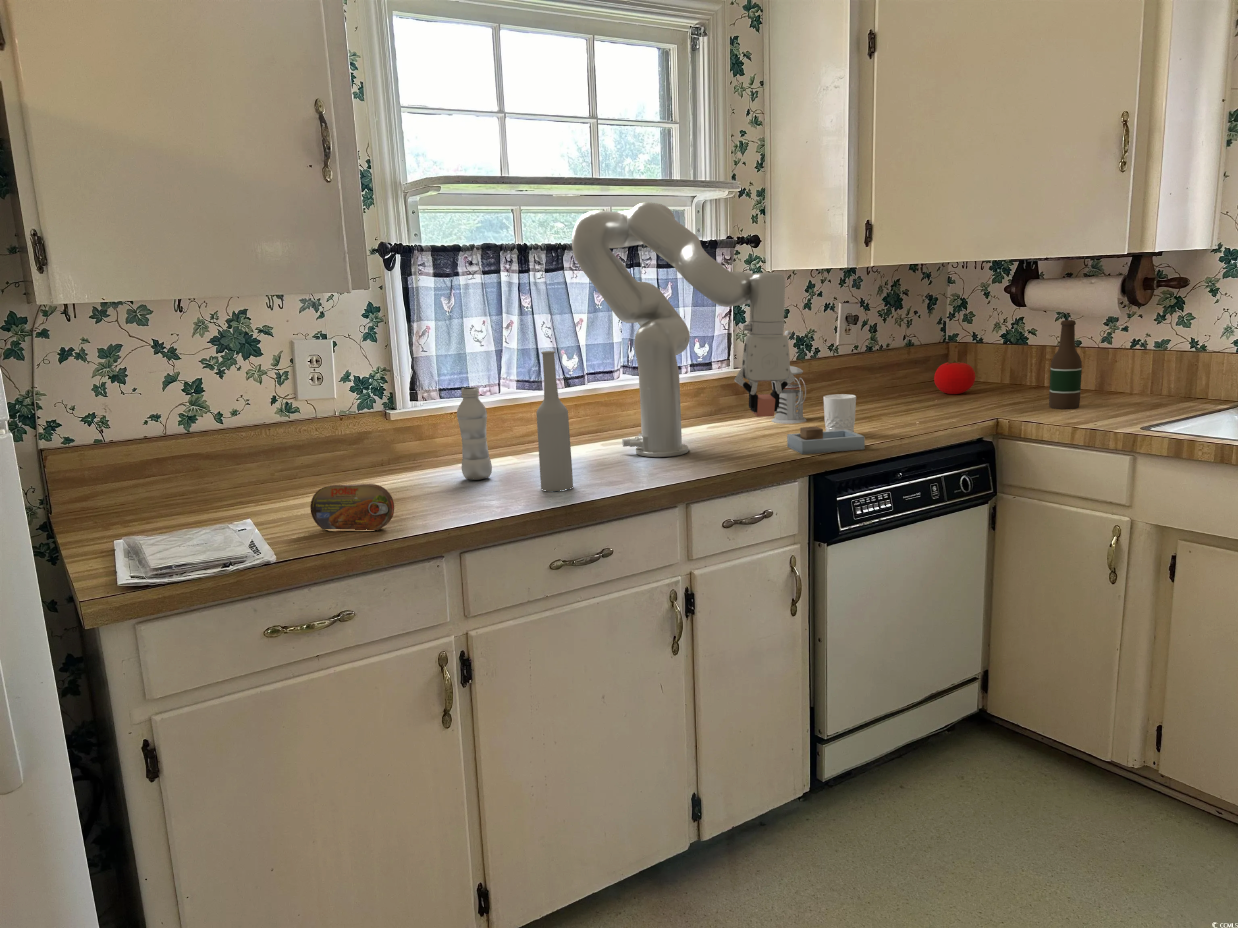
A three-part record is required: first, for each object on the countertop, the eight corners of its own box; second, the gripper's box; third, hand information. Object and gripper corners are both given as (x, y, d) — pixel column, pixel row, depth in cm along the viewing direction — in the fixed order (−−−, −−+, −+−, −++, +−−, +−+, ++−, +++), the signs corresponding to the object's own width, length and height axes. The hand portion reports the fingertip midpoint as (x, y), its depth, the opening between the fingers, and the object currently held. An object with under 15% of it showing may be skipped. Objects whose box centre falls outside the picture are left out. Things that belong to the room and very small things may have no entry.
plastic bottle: (479, 483, 194) (472, 390, 190) (456, 481, 197) (447, 389, 193) (499, 477, 199) (491, 386, 195) (475, 475, 203) (468, 386, 199)
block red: (756, 416, 204) (758, 399, 203) (751, 411, 208) (752, 394, 206) (773, 416, 205) (775, 399, 203) (768, 411, 208) (769, 394, 207)
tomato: (930, 392, 295) (931, 359, 292) (969, 390, 293) (970, 358, 291) (938, 396, 284) (939, 363, 282) (979, 395, 282) (980, 361, 280)
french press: (792, 416, 260) (792, 328, 255) (818, 421, 250) (817, 330, 245) (764, 420, 256) (762, 331, 251) (788, 425, 246) (787, 332, 241)
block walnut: (806, 447, 210) (806, 430, 209) (800, 444, 214) (800, 427, 213) (823, 446, 210) (822, 429, 210) (816, 443, 214) (816, 426, 213)
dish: (802, 454, 207) (802, 441, 207) (787, 446, 217) (787, 434, 216) (864, 449, 209) (864, 436, 209) (846, 441, 219) (846, 429, 219)
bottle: (552, 493, 182) (542, 353, 176) (535, 488, 187) (525, 352, 181) (579, 487, 185) (571, 350, 180) (562, 482, 191) (553, 349, 185)
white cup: (856, 438, 223) (856, 398, 221) (823, 439, 224) (823, 399, 222) (855, 433, 230) (855, 393, 228) (823, 433, 232) (823, 394, 230)
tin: (312, 532, 162) (306, 486, 160) (320, 527, 165) (315, 482, 163) (391, 532, 159) (386, 485, 158) (398, 527, 162) (394, 481, 161)
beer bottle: (1081, 405, 253) (1085, 319, 249) (1077, 410, 247) (1082, 321, 242) (1050, 404, 258) (1054, 319, 253) (1046, 409, 251) (1050, 321, 246)
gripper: (734, 331, 196) (732, 415, 200) (808, 330, 199) (804, 412, 203) (725, 328, 204) (723, 409, 208) (796, 327, 206) (793, 407, 210)
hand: (763, 410), depth 205 cm, fingers closed on block red, 4 cm apart
